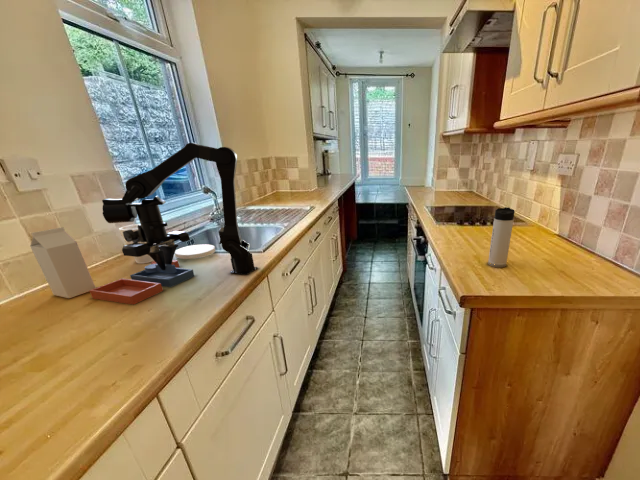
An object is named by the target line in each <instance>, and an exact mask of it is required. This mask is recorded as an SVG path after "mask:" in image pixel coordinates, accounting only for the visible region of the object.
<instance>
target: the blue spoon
mask: <svg viewBox="0 0 640 480" xmlns="http://www.w3.org/2000/svg"><path fill="white" fill-rule="evenodd" d="M144 270H145V271H146V272H147V273H154V272H165V273H175V272H177V270H176V267H175V265H171V264H165V270H162V269H161V268H160V267H159V266H158V265H157V264H151V263H150V264H148V265H146V266H144Z"/></svg>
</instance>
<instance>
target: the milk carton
mask: <svg viewBox="0 0 640 480" xmlns="http://www.w3.org/2000/svg"><path fill="white" fill-rule="evenodd" d="M30 234H31V237H32V238H31V242H30V246H29V247H30V249H31V251H32V253H33V255H34V257H35V260H36V262H37V263H38V266H39V268H40V269H41V272H42V274H43V276H44V279H45V281H46V282H47V284H48V286H49V289H50V290H51V292H52V295H53V296H57V297H62V298H66V299H72V298H75V297H78V296H81V295H82V294H86V293H88V292H89V293H90V291H89V290H92V289H95V288H97V287H96V285H95V283H94V279H93V278H92V275H91V273H90V271H89V268H88V266H87V263H86V261H85V258H84V255H83V253H82V251H81V249H80V247H79V244H78V242H77V241H76V240H75V238H73V236H71V235H70V234H69V233H68V232H67V231H66V230H65V228H64V227H63V226H62V227H61V226H60V227H56V228H50V229H46V230H40V231H34V232H30Z"/></svg>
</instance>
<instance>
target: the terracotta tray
mask: <svg viewBox="0 0 640 480" xmlns="http://www.w3.org/2000/svg"><path fill="white" fill-rule="evenodd" d="M163 291H164V288H163V286H161V283H154V282H146V281H138V280H132V279H131V278H130V279H129V278H123V277H122V278H118V279H116V280H114V281H110V282H108V283H106V284H103V285H100V286H97V287H96V288H95V289H92V290H89V293H90V296H91V298H92V299H95V300H100V301H109V302H115V303H121V304H126V305H136V304H138V303H140V302H142V301H145V300H146V299H149V298H151V297H153V296H155V295H158V294H159V293H162V292H163Z"/></svg>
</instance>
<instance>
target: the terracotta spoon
mask: <svg viewBox="0 0 640 480" xmlns="http://www.w3.org/2000/svg"><path fill="white" fill-rule="evenodd" d="M151 264H157V263H156V262H155V261H152V262H150V265H151ZM171 265H175V267H176V268H181V267H180V264H179V260H177V259H176V260H175V259H173V260H172V264H171Z"/></svg>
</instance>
